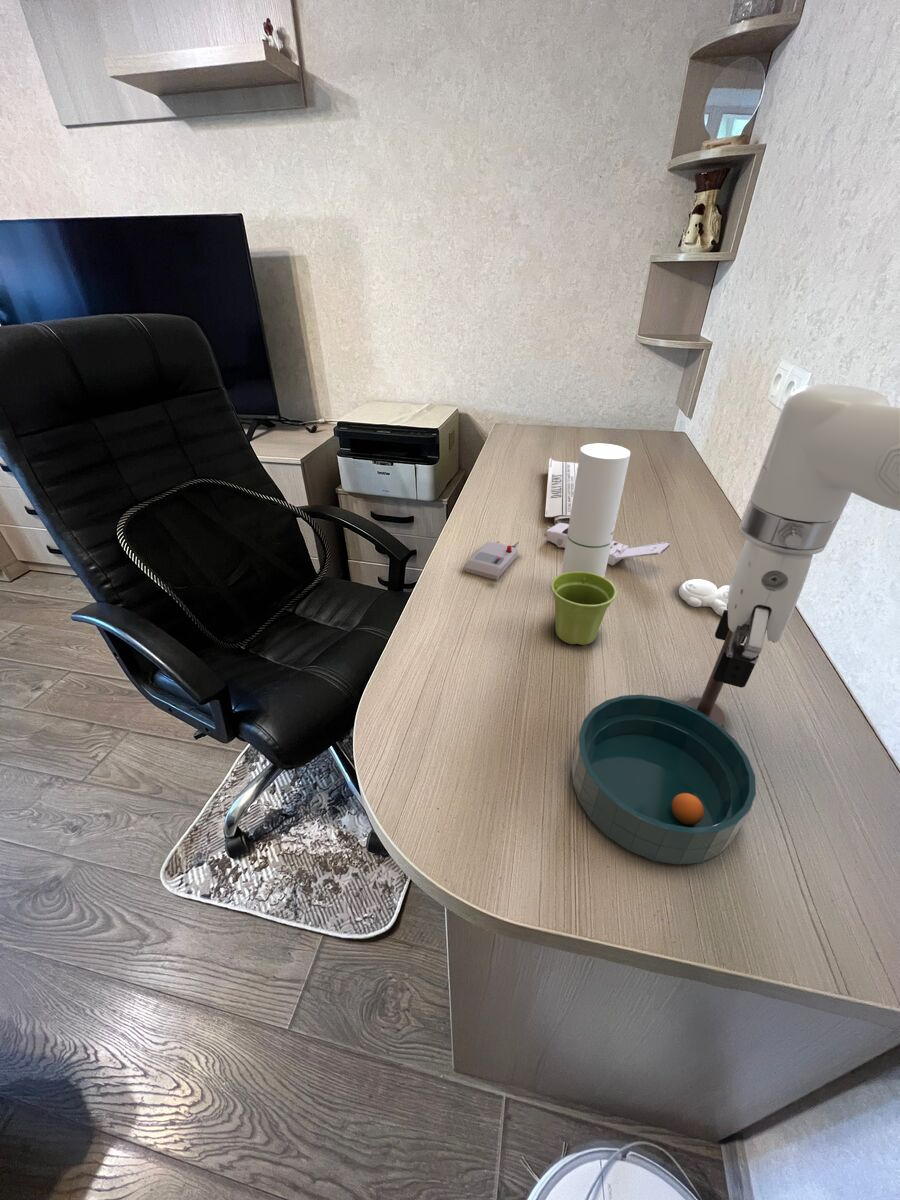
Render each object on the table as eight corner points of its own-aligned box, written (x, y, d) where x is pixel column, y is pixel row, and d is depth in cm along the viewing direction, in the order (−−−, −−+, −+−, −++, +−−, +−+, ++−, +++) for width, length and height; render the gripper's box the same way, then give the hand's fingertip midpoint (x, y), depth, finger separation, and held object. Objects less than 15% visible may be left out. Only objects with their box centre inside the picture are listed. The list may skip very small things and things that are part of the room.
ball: (714, 821, 50) (695, 809, 49) (689, 834, 51) (670, 823, 50) (703, 794, 52) (685, 783, 51) (679, 807, 54) (661, 796, 53)
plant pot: (532, 631, 79) (537, 585, 74) (570, 608, 84) (578, 564, 79) (580, 662, 73) (589, 614, 68) (618, 635, 78) (629, 589, 73)
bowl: (735, 758, 59) (752, 723, 56) (736, 898, 46) (759, 864, 43) (588, 711, 65) (596, 677, 61) (554, 824, 52) (561, 789, 49)
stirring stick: (724, 709, 65) (765, 618, 57) (721, 736, 62) (765, 643, 53) (683, 696, 67) (717, 607, 59) (678, 722, 63) (714, 630, 55)
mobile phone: (659, 553, 87) (538, 512, 100) (651, 582, 90) (534, 539, 104) (672, 542, 91) (553, 504, 104) (664, 570, 94) (549, 529, 108)
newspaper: (602, 530, 108) (605, 515, 105) (544, 526, 109) (546, 511, 107) (588, 472, 136) (590, 459, 134) (542, 469, 138) (543, 457, 136)
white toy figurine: (747, 626, 80) (754, 611, 78) (672, 600, 86) (676, 585, 84) (759, 602, 86) (766, 587, 84) (687, 578, 92) (692, 564, 90)
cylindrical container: (605, 588, 89) (636, 448, 75) (592, 608, 84) (622, 462, 70) (567, 577, 92) (589, 440, 78) (552, 595, 87) (573, 453, 73)
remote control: (459, 575, 92) (460, 561, 90) (494, 540, 103) (495, 527, 102) (493, 585, 90) (493, 570, 88) (524, 548, 101) (525, 534, 99)
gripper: (847, 574, 41) (768, 722, 51) (818, 497, 54) (760, 627, 64) (745, 555, 43) (689, 699, 53) (741, 486, 56) (697, 612, 66)
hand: (728, 659), depth 59 cm, fingers open, 7 cm apart
